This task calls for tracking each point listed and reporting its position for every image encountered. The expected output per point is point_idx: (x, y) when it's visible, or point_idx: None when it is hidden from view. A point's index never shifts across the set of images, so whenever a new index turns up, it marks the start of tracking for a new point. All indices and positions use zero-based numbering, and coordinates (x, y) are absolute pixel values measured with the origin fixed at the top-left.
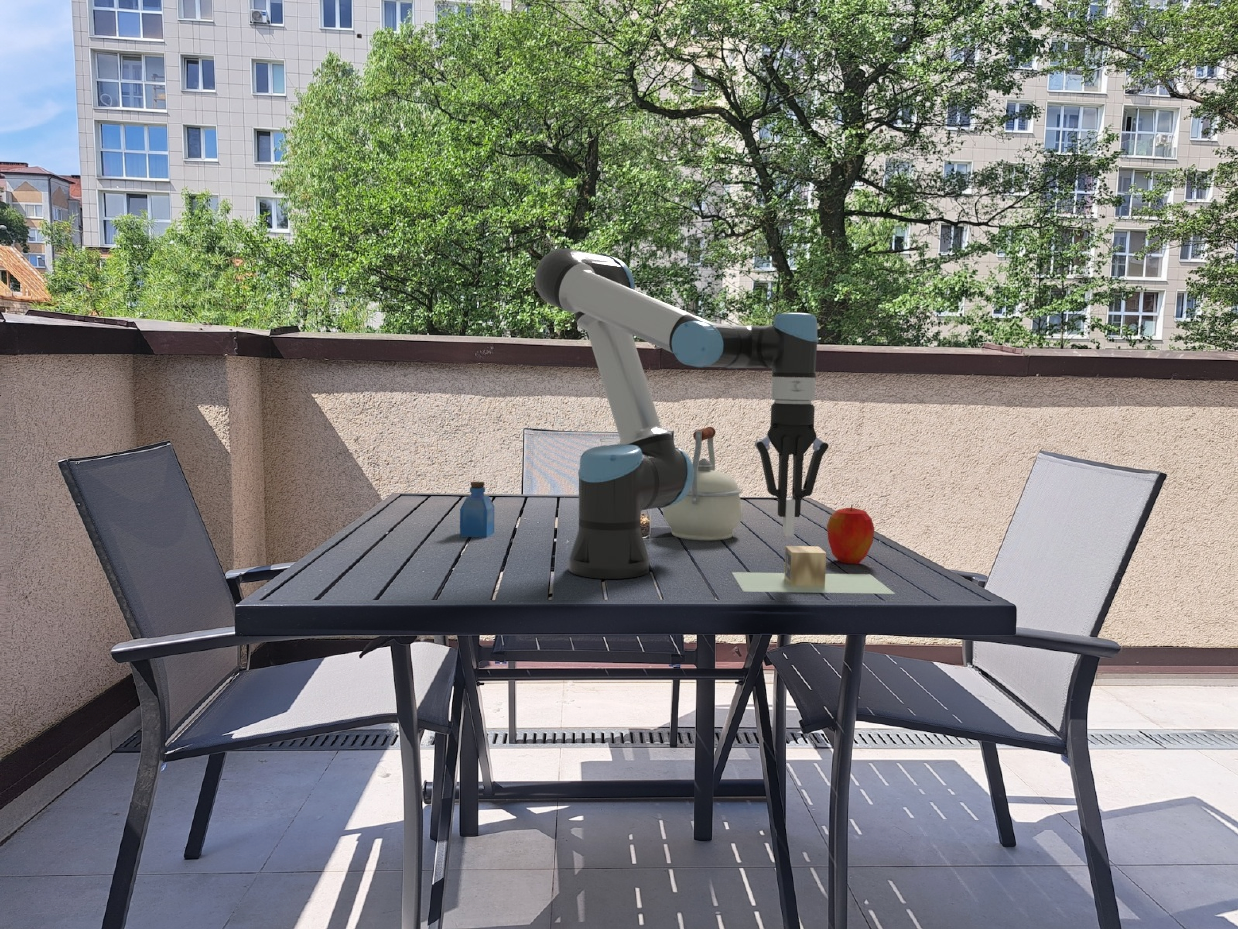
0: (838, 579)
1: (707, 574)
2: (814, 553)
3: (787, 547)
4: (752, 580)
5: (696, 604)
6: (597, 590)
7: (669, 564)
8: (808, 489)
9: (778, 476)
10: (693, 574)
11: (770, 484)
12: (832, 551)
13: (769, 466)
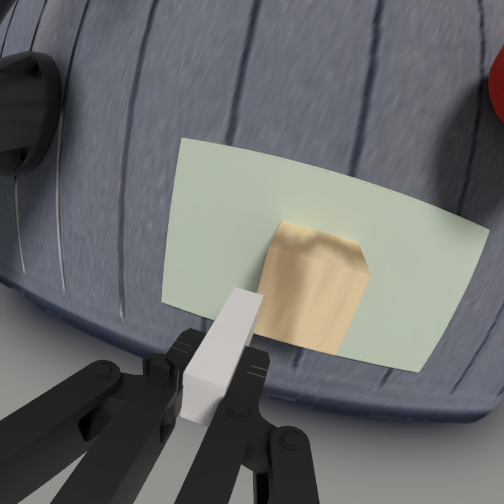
0: (401, 259)
1: (137, 133)
2: (306, 346)
3: (264, 270)
4: (200, 226)
5: (98, 327)
6: (14, 229)
7: (101, 46)
8: (266, 483)
9: (93, 447)
10: (113, 132)
11: (81, 428)
12: (490, 80)
13: (31, 481)
